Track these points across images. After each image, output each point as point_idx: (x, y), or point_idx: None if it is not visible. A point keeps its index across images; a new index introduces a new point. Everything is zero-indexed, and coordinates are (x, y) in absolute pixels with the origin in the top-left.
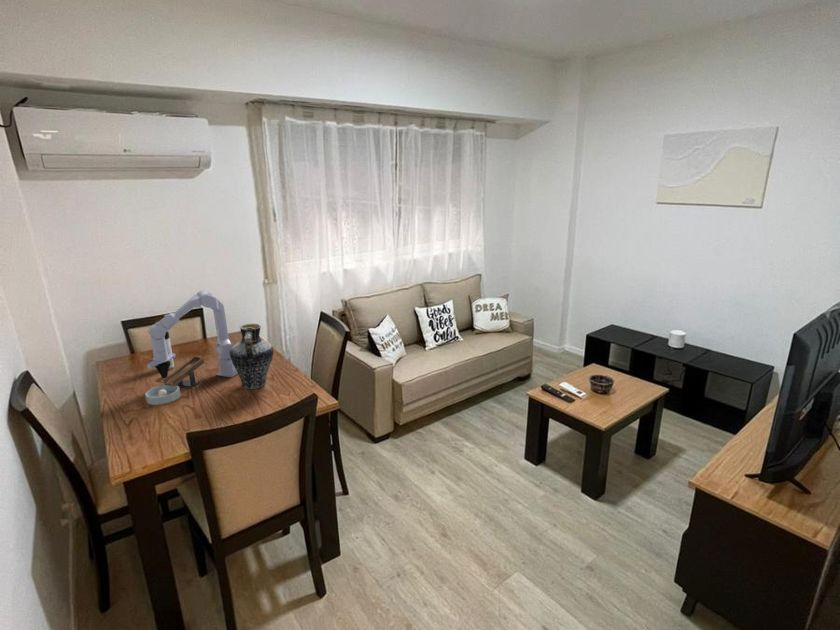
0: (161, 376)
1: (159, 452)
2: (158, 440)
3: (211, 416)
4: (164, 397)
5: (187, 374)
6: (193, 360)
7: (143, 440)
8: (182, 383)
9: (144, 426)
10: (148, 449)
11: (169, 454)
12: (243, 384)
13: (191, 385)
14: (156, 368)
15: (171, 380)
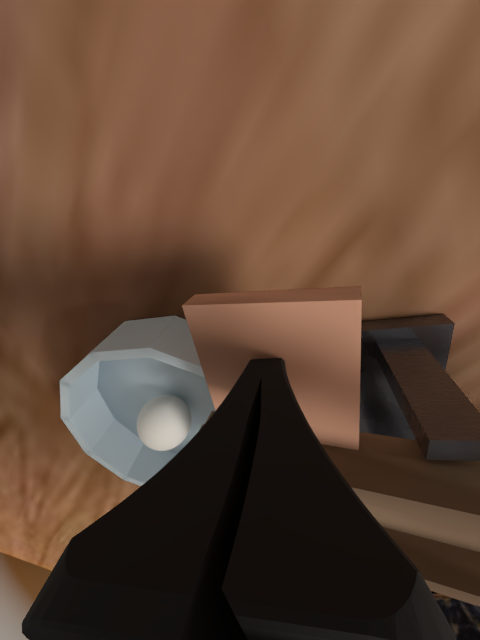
0: (245, 369)
1: (39, 554)
2: (49, 536)
3: None
4: (135, 476)
5: (393, 529)
6: None
7: (18, 515)
8: (370, 384)
9: (34, 481)
10: (22, 537)
11: (53, 567)
12: None
13: None
14: (152, 481)
15: None
